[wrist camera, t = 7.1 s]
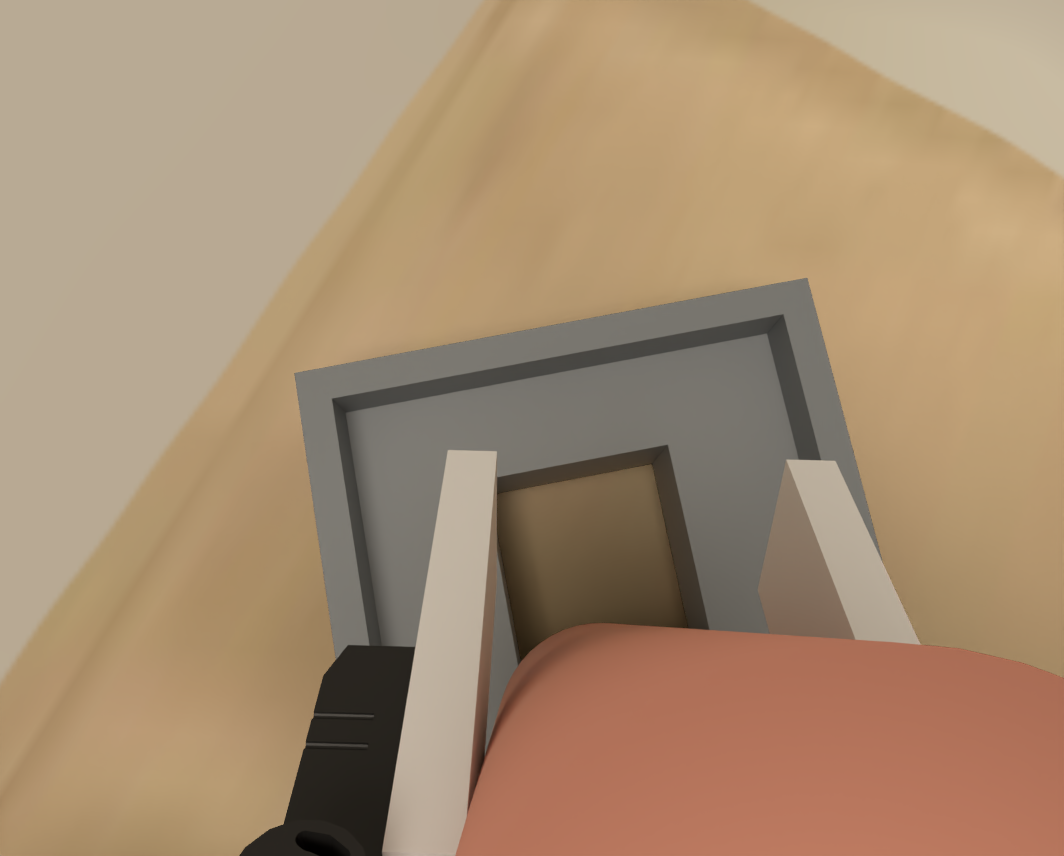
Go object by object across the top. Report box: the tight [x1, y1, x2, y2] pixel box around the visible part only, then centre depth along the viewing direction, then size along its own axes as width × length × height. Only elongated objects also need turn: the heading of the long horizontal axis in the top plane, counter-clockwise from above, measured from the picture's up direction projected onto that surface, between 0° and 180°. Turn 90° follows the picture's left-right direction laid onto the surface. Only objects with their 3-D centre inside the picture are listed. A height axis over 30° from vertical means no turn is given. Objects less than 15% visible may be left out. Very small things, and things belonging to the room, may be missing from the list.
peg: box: [455, 623, 1064, 856], centre depth 11 cm, size 4×4×16 cm
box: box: [294, 278, 883, 754], centre depth 29 cm, size 16×14×6 cm
